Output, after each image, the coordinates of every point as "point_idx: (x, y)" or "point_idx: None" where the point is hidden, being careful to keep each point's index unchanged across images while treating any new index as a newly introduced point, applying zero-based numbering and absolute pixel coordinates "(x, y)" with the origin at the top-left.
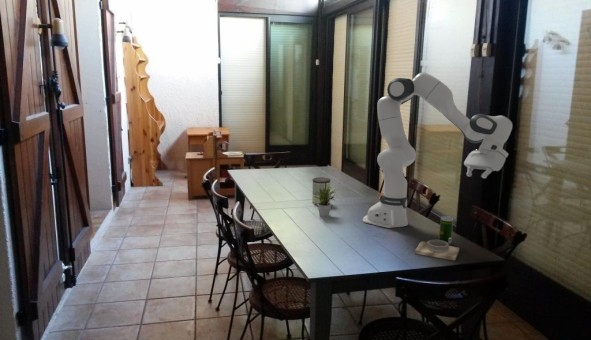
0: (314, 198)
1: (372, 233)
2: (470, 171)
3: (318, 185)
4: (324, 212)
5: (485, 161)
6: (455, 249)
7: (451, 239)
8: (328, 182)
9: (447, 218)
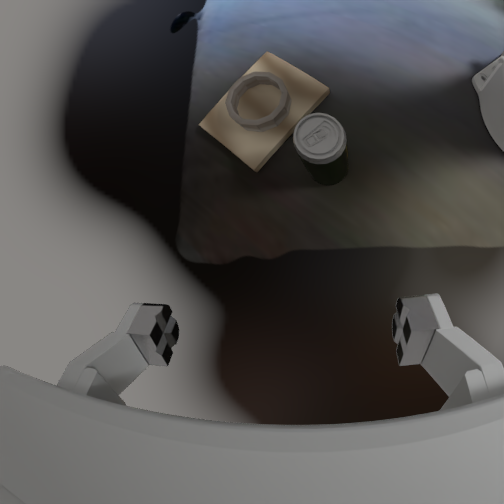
0: None
1: (428, 25)
2: (439, 367)
3: None
4: None
5: (85, 479)
6: (243, 150)
7: (312, 176)
8: None
9: (301, 128)
